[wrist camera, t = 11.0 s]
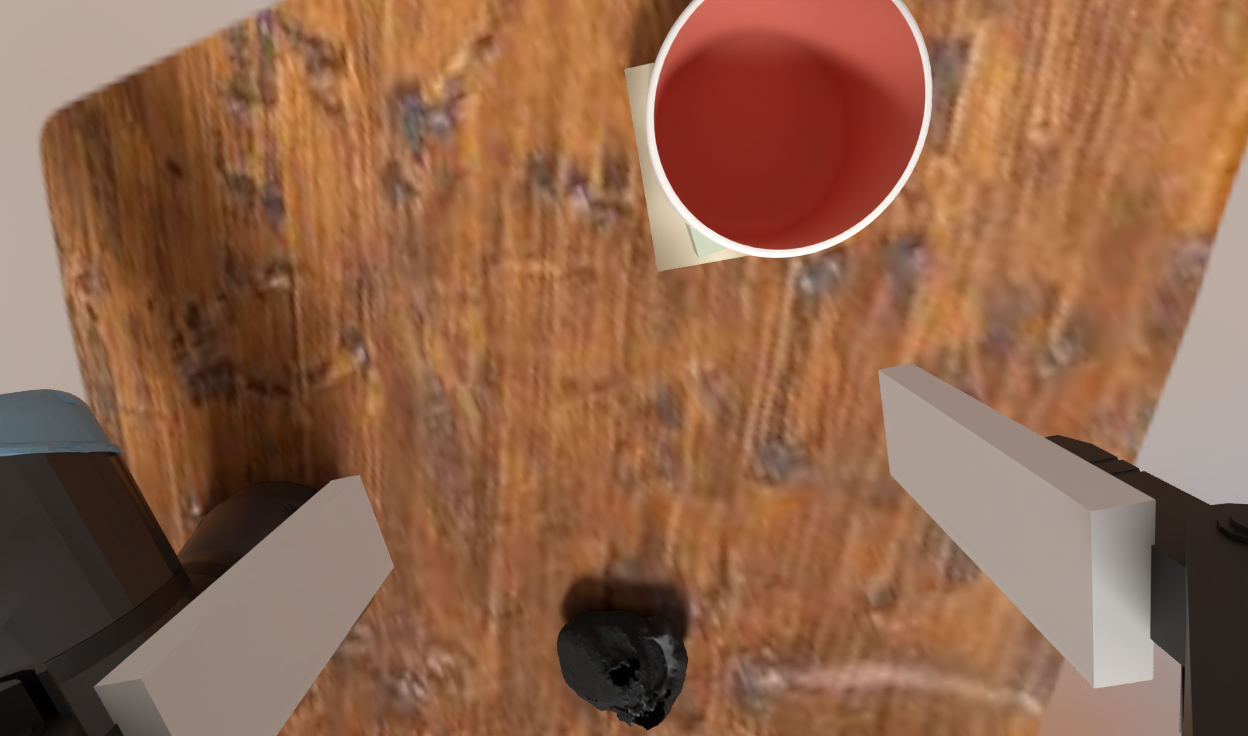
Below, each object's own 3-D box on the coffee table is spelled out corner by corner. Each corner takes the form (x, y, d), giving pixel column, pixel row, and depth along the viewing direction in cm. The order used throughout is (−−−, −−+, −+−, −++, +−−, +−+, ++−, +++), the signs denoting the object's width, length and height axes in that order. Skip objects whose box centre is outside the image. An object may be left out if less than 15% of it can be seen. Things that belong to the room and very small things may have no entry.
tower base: (657, 263, 42) (657, 271, 37) (628, 86, 38) (624, 69, 34) (826, 233, 40) (848, 237, 36) (809, 47, 37) (832, 24, 32)
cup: (633, 61, 29) (621, -11, 19) (834, 15, 28) (926, -85, 18) (667, 258, 32) (671, 280, 22) (852, 222, 31) (941, 229, 21)
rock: (646, 616, 56) (546, 645, 53) (672, 581, 49) (558, 612, 45) (680, 721, 51) (572, 761, 48) (715, 700, 44) (591, 745, 40)
